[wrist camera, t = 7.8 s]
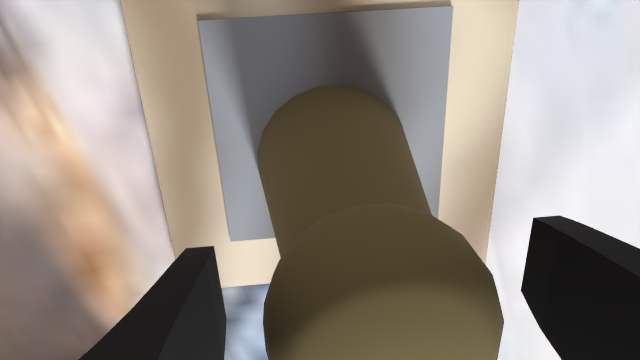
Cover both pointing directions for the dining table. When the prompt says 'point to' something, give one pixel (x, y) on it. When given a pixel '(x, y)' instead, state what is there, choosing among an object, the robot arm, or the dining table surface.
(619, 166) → the dining table surface
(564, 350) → the robot arm
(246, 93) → the base board
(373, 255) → the cork
